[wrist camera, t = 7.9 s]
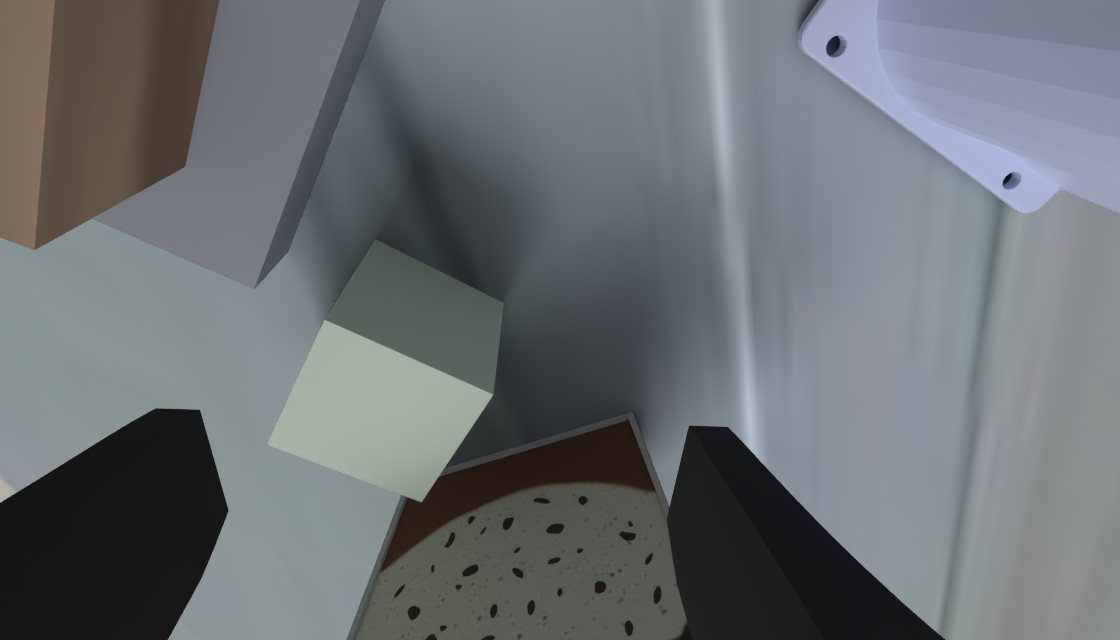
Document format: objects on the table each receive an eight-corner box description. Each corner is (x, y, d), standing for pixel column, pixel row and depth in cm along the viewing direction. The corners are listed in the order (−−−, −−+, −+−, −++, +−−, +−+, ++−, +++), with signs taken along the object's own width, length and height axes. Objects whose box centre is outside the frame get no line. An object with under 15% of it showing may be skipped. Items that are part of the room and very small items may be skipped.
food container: (441, 580, 27) (393, 871, 18) (373, 489, 24) (276, 785, 15) (709, 508, 25) (798, 795, 16) (671, 399, 22) (756, 680, 13)
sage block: (504, 301, 20) (493, 394, 15) (445, 396, 21) (421, 502, 17) (375, 238, 18) (324, 319, 14) (325, 344, 20) (266, 444, 16)
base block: (404, -40, 15) (375, -43, 12) (293, 245, 19) (254, 288, 16) (5, -292, 12) (-134, -361, 10) (-28, 96, 16) (-135, 119, 14)
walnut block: (223, -22, 12) (56, -17, 8) (185, 167, 14) (34, 249, 10) (-19, -146, 11) (-362, -217, 7) (-24, 77, 13) (-294, 127, 9)
